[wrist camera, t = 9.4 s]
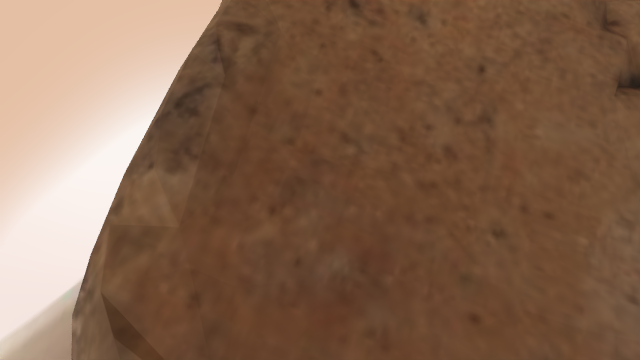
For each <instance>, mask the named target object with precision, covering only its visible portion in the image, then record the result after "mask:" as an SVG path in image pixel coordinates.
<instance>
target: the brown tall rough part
mask: <svg viewBox="0 0 640 360" xmlns="http://www.w3.org/2000/svg"><path fill="white" fill-rule="evenodd" d="M72 360H640V0H222V2H221V5H220V7H219V9H218V11H217V12H216V14H215V15H214V17H213V18H212V20H211V21H210V23H209V24H208V26H207V28H206V29H205V31H204V32H203V34H202V35H201V37H200V38H199V40H198V41H197V43H196V45H195V46H194V47H193V49H192V51H191V52H190V54H189V55H188V57H187V59H186V60H185V62H184V64H183V65H182V66H181V68H180V70H179V71H178V73H177V75H176V77H175V79H174V81H173V83H172V84H171V86H170V88H169V90H168V92H167V94H166V96H165V98H164V100H163V102H162V104H161V105H160V107H159V109H158V111H157V113H156V115H155V117H154V119H153V120H152V123H151V124H150V126H149V128H148V130H147V132H146V134H145V136H144V138H143V139H142V141H141V143H140V145H139V147H138V149H137V151H136V153H135V155H134V157H133V159H132V160H131V163H130V164H129V166H128V168H127V170H126V172H125V174H124V176H123V179H122V181H121V183H120V186H119V188H118V191H117V193H116V195H115V198H114V200H113V202H112V205H111V207H110V210H109V212H108V215H107V217H106V219H105V222H104V224H103V227H102V229H101V232H100V234H99V236H98V239H97V241H96V244H95V246H94V248H93V251H92V253H91V256H90V259H89V263H88V266H87V269H86V273H85V275H84V279H83V282H82V285H81V289H80V292H79V295H78V298H77V302H76V305H75V308H74V312H73V316H72Z"/></svg>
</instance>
